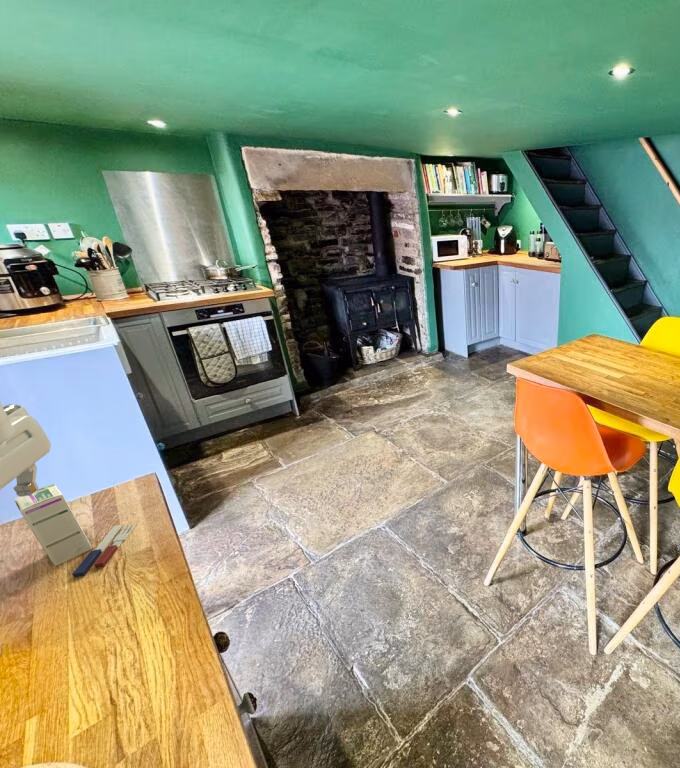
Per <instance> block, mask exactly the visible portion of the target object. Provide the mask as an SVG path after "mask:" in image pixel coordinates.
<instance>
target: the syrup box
mask: <svg viewBox="0 0 680 768" xmlns="http://www.w3.org/2000/svg"><path fill="white" fill-rule="evenodd" d="M13 501H14V503H15V505H16V507H17V509H18V511H19V513H20V514H21V516H22V517H23V519H24V520H25V522H26V524H27V525H28V527H29V529H30V530H31V532H32V533H33V535H34V537H35V538H36V540H37V541H38V543H39V544H40V546H41V547H42V549H43V551H44V552H45V554H46V556H47V557H48V558H49V560H50V562H51V563H52V565H53V566H54V567H57V566H60V565H61V564H64V563H66V562H68V561H70V560H72V559H75V558H76V557H79V556H81V555H83V554H86V553H87V552H90V551H92V550H93V547H92V545H91V542H90V541H89V539H88V537H87V535H86V533H85V531H84V530H83V527H82V526H81V524H80V522H79V520H78V518H77V516H76V515H75V513H74V511H73V510H72V508H71V506H70V505H69V503H68V501H67V499H66V498H65V496H64V494H63V493H62V492H61V491H60V489H58V487H57V485H56V484H50V485H47V486H44V487H41V488H38V490H36V491H35V492H34V493H33V494H32V495H30V496H22V497H21V496H18V497H15V498H14V499H13Z"/></svg>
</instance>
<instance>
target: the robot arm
mask: <svg viewBox="0 0 680 768" xmlns="http://www.w3.org/2000/svg"><path fill="white" fill-rule="evenodd" d="M51 443H52V442H51V440H50V438H49V437H48V436H47V434H46V432H45V430H44V429H43V427H42V426H41V425H40V423H39V422H38V420H37V419H36V418H34V417H33V416H31V415H30V414H29V412H28V410H27V409H26V407H24V406H22V405H18V404H14V403H11V404H10V403H9V404H6V405H5V406H3V403H2V401H0V490H2V489H3V488H4V487H6V486H7V485H9V484H10V483H11V482H12V481H14V480H15V479H16V484H15V486H13V490H14V492H16V496H18V497H20V496H21V497H22V496H30V495H32V494H33V493H34V492H35V491H36V490H38V489H39V486H38V483H37V481H36V479H37V469H38V467H37V465H36V463H37V462H38V461H40V460H41V459H42V458H43V457H45V456H46V455H47V454H49V453H50V451H51V446H52V445H51Z"/></svg>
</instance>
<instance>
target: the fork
mask: <svg viewBox="0 0 680 768" xmlns="http://www.w3.org/2000/svg"><path fill="white" fill-rule="evenodd" d="M136 527H137V523H134V524H129V525H126V524H125V525H124V527H123V528H121V530H120V531H119V532H118V534H116V535H115V537H114V538H113V539H112V541H111V542H112V544H111V545H108V546H107V547H106V549H105V550H104V551H103V552H102V554H101V555H100V556H99V558H98V559H97V560H96V561H95V563H94V564H93V566H94V568H95V569H100V568H105V567H106V565H107V564H108V563H109V562H110V560H111V559H112V557H113V556H114V554H115V553H116V552H117V550H118V549H119V548H120V547H121V545H122V544H123V543H124V542H126V541H127V540H128V538H129V537H130V535H131V533H132V532H133V531H134V529H135V528H136Z"/></svg>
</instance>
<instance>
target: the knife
mask: <svg viewBox="0 0 680 768" xmlns="http://www.w3.org/2000/svg"><path fill="white" fill-rule="evenodd" d="M123 526H124V524H118V525H113V526H112V528H111V529H110V530H109V531H108V533H107V534H106V535H105V536H104V538H103V539H102V540H101V542H100V543H99V544H98V545H97V546H96V548H95V549H91V550H89V552H88V554H87V555H86V556H85V557H84V559H83V560H82V561H81V563H79V565H78V566H77V567H76V569H75V570H74V571H73V572H72V576H73V578H74V579H75V578H80V577H85V576H86V575H87V573H88V572H89V571H90V569H91V568H92V567H93V566H94V564H95V563H96V562H97V560H98V559H99V558H100V556H101V555H102V554H103V553H104V551H105V550H106V549H107V547H108V546H110V543H111V542H112V541H113V540H114V539H115V537H116V536H117V535H118V534H119V533H120V531H121V530H122V529H123V528H122V527H123Z"/></svg>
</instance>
